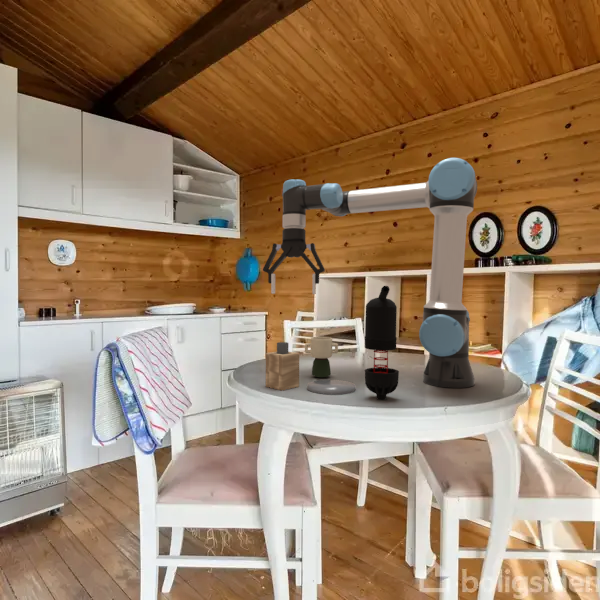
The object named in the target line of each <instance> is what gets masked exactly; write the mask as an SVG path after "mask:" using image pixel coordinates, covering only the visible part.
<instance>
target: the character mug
mask: <svg viewBox="0 0 600 600" xmlns="http://www.w3.org/2000/svg"><path fill="white" fill-rule="evenodd" d="M309 347H310V349H309ZM333 347H334V349H333ZM338 352H339V344H338V343H337V342H336V343H335V342H333V338H332V337H331V336H330V337H329V336H312V337H310V342H306V343H304V353H305V354H310V356H311V357H312V358H314V359H313V362H312V367H311V375H312V376H313V377H315V378H328V377H329V376H331V375H332V374H331V372H332V371H331V364H330V360H329V359H330V358H331V357H332V356H333V354H338Z"/></svg>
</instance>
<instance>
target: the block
mask: <svg viewBox="0 0 600 600" xmlns="http://www.w3.org/2000/svg"><path fill="white" fill-rule="evenodd" d="M269 387H270V389H273V388H274V389H275V390H278V391H282V390H283V391H287V390H291V388H292V389H296V388H299V387H300V353H299V352H293V351H288V354H277V351H272V352H271V351H270V352H265V388H269ZM295 387H296V388H295ZM286 389H287V390H286Z"/></svg>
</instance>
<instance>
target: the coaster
mask: <svg viewBox="0 0 600 600" xmlns="http://www.w3.org/2000/svg"><path fill="white" fill-rule="evenodd" d="M306 389H308V390H307V391H309V392H311V393H315V394H320V395H331V396H332V395H335V396H336V395H348V394H351V392H352V393H354V392H355V391H356V384H355V383H353V382H351V381H347V380H341V379H339V380H338V379H318V380H311V381H309V382H307V384H306Z"/></svg>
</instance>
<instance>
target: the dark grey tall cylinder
mask: <svg viewBox="0 0 600 600" xmlns="http://www.w3.org/2000/svg"><path fill="white" fill-rule="evenodd" d="M276 352H277V354H288V352H289V342H288V341H287V342H286V341H285V342H284V341H280V342H277V343H276Z"/></svg>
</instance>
